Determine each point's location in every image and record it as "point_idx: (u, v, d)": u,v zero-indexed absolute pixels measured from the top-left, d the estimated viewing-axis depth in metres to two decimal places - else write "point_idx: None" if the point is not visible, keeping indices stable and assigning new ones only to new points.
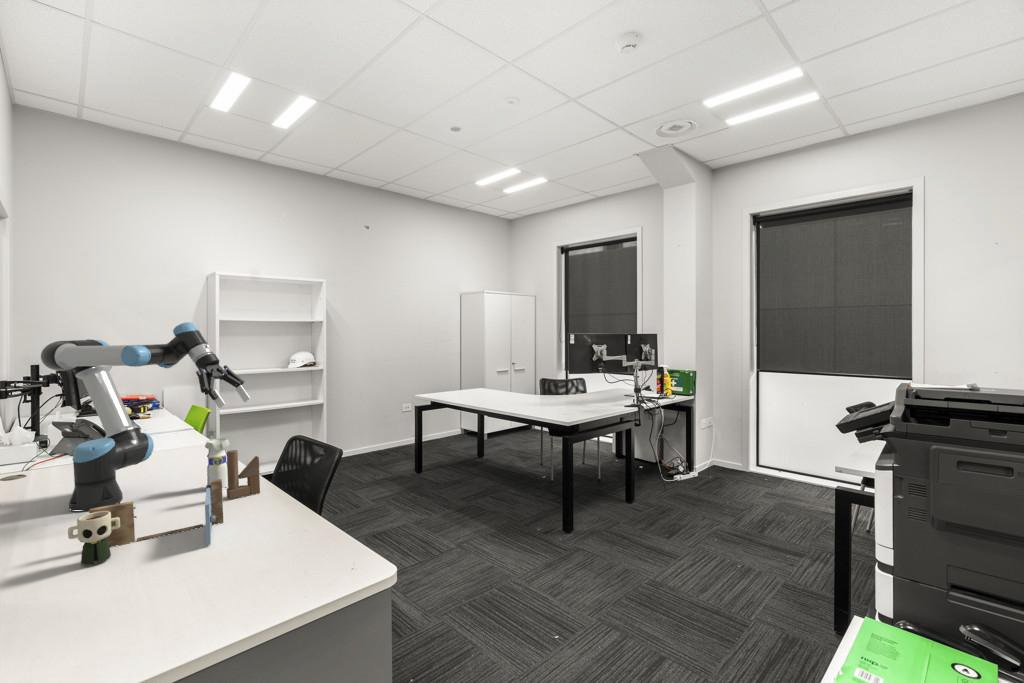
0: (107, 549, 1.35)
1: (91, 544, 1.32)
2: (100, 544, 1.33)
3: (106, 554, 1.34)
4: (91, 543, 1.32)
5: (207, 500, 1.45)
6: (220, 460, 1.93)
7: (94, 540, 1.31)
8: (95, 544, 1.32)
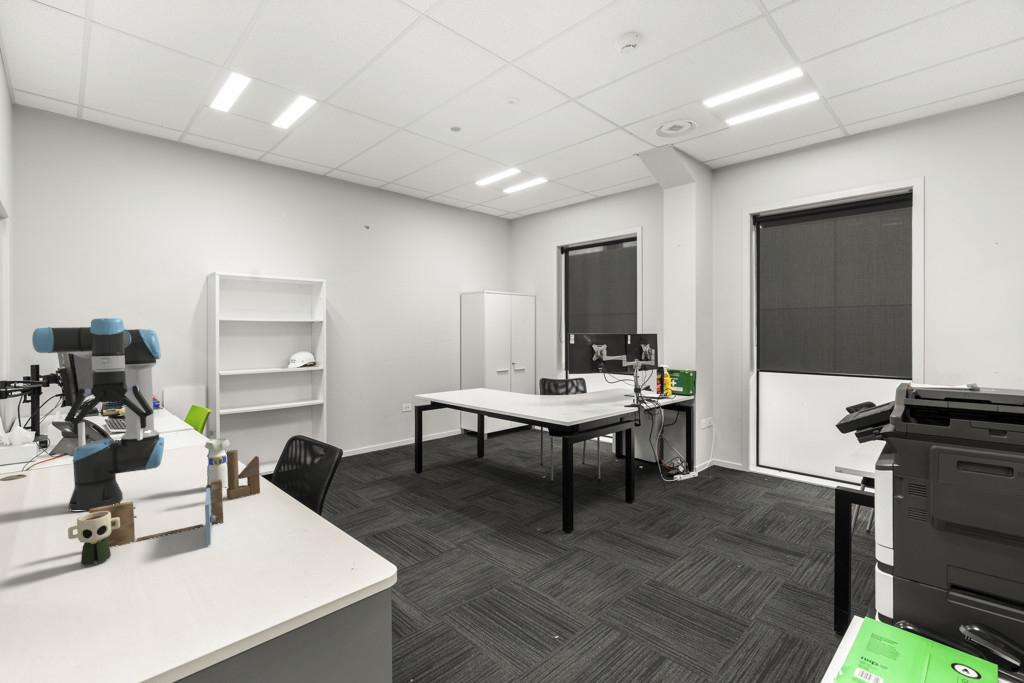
0: (107, 549, 1.34)
1: (91, 544, 1.32)
2: (100, 544, 1.33)
3: (106, 554, 1.34)
4: (91, 543, 1.32)
5: (207, 500, 1.45)
6: (220, 460, 1.93)
7: (94, 540, 1.31)
8: (95, 544, 1.32)
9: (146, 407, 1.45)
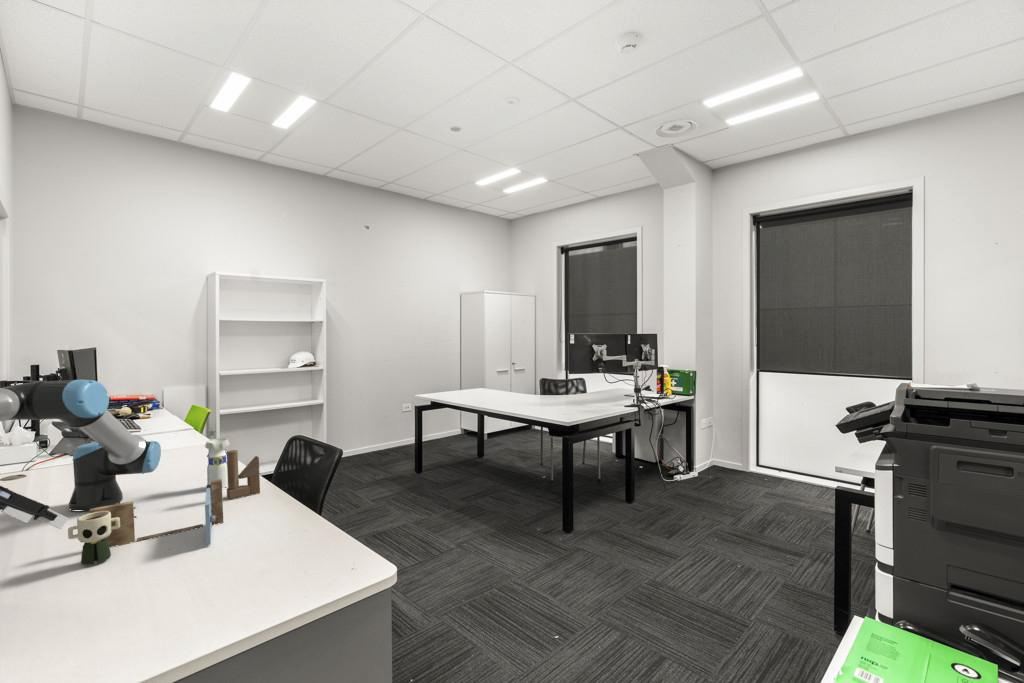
0: (107, 549, 1.34)
1: (91, 544, 1.32)
2: (100, 544, 1.33)
3: (106, 554, 1.34)
4: (91, 543, 1.32)
5: (207, 500, 1.45)
6: (220, 460, 1.93)
7: (94, 540, 1.31)
8: (95, 544, 1.32)
9: (29, 511, 1.13)
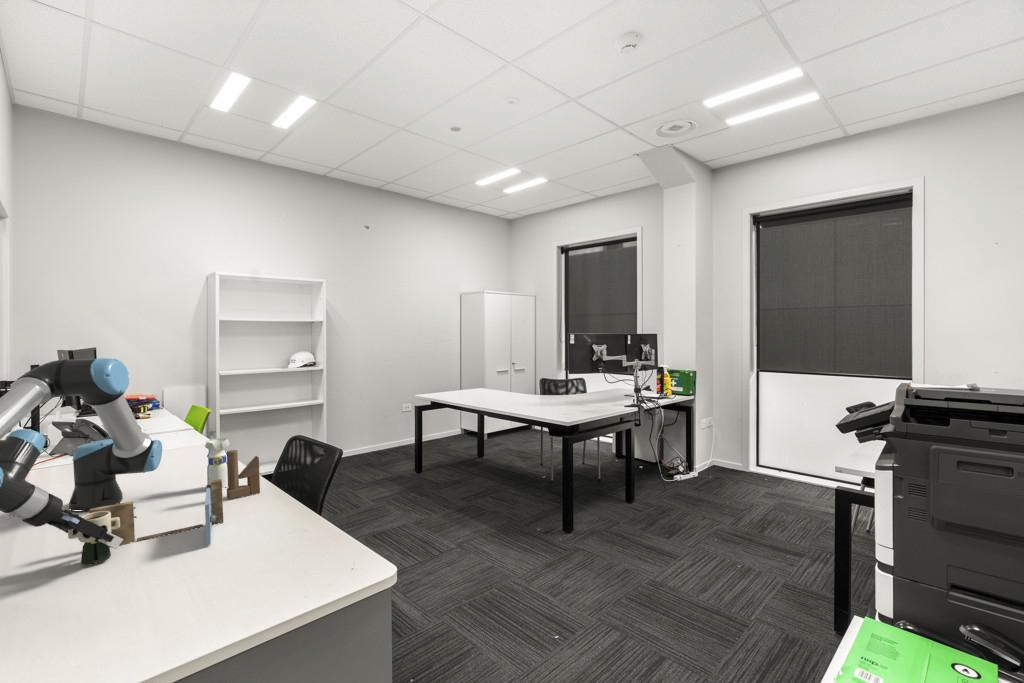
0: (107, 549, 1.35)
1: (91, 544, 1.32)
2: (100, 544, 1.33)
3: (106, 554, 1.34)
4: (91, 543, 1.32)
5: (207, 500, 1.45)
6: (220, 460, 1.93)
7: None
8: (95, 544, 1.32)
9: (93, 535, 1.28)
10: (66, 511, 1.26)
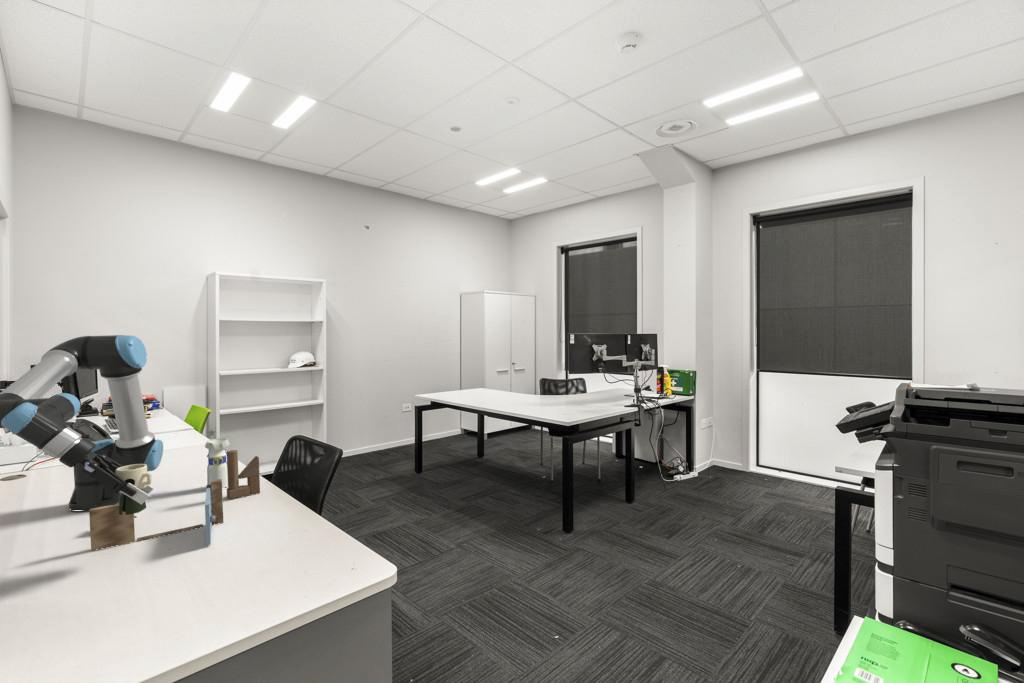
0: (137, 503, 1.35)
1: (123, 494, 1.34)
2: (129, 497, 1.34)
3: (134, 508, 1.34)
4: None
5: (207, 500, 1.45)
6: (220, 460, 1.93)
7: None
8: (126, 495, 1.34)
9: None
10: (96, 458, 1.31)
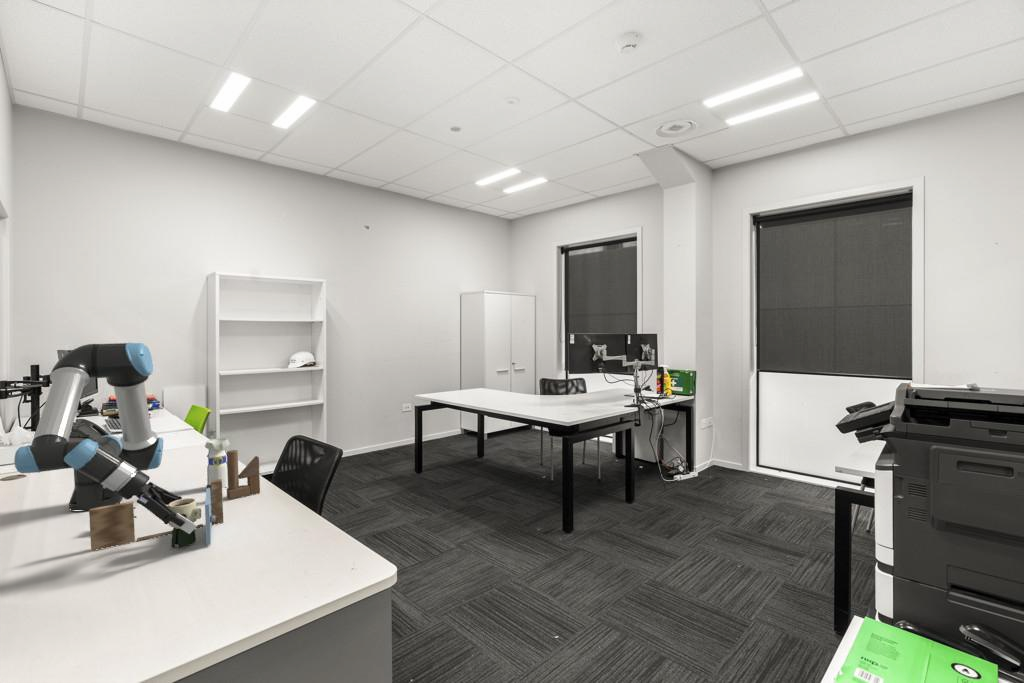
0: (188, 536, 1.42)
1: (175, 528, 1.41)
2: (181, 531, 1.41)
3: (186, 541, 1.41)
4: (175, 528, 1.41)
5: (207, 500, 1.45)
6: (220, 460, 1.93)
7: (174, 526, 1.40)
8: (178, 529, 1.41)
9: None
10: (150, 489, 1.37)
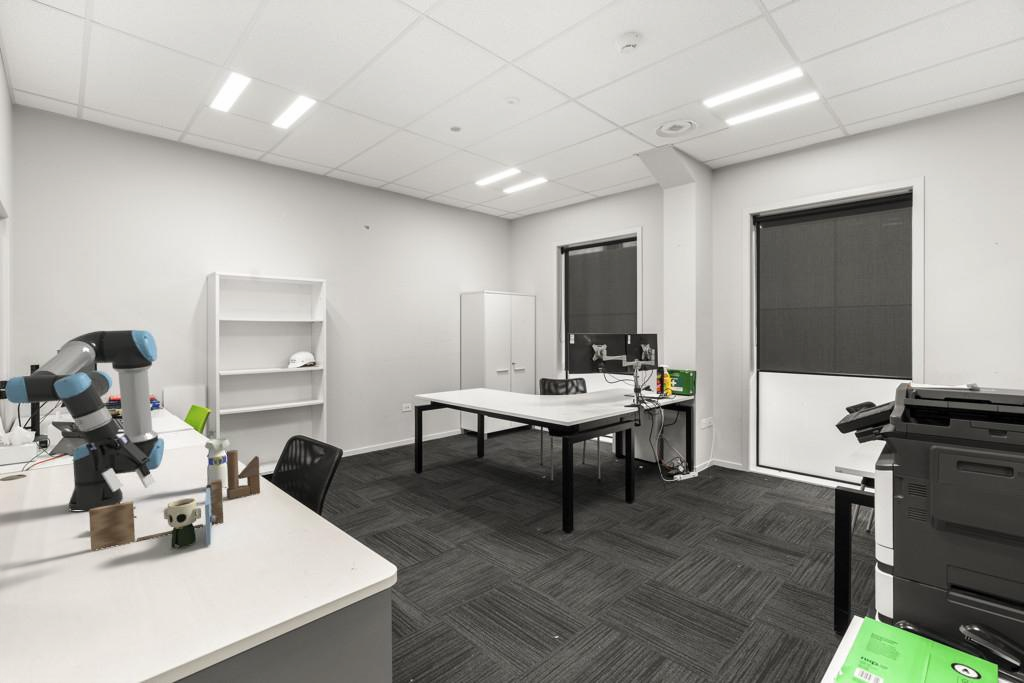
0: (188, 536, 1.42)
1: (175, 528, 1.41)
2: (181, 531, 1.41)
3: (186, 541, 1.41)
4: (175, 528, 1.41)
5: (207, 500, 1.45)
6: (220, 460, 1.93)
7: (174, 526, 1.40)
8: (178, 529, 1.41)
9: (135, 458, 1.38)
10: None
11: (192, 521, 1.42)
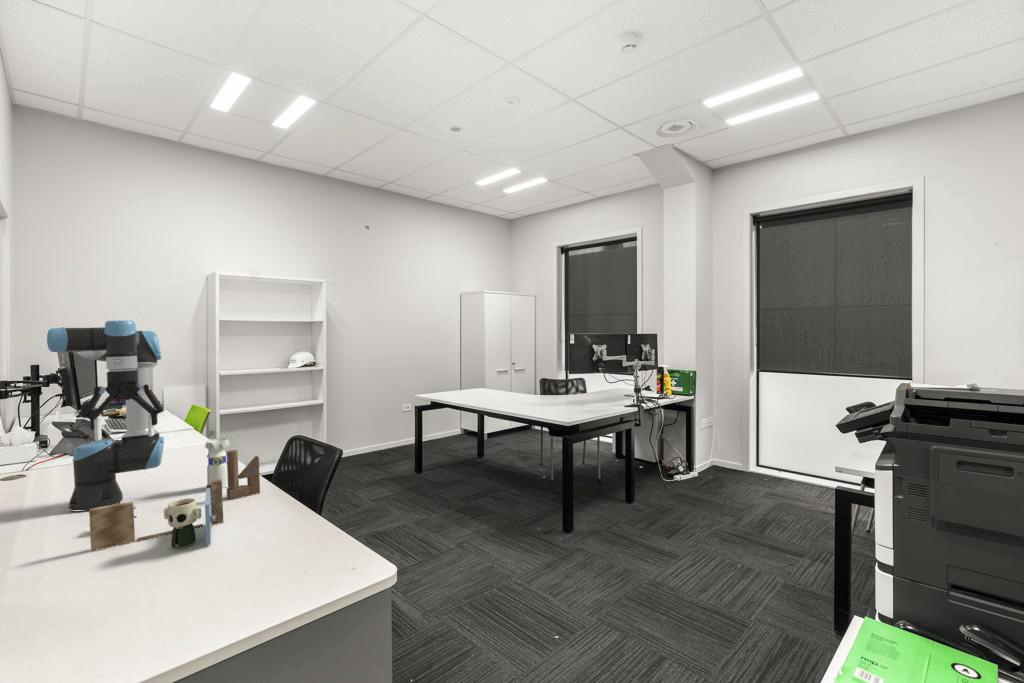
0: (188, 536, 1.42)
1: (175, 528, 1.41)
2: (181, 531, 1.41)
3: (186, 541, 1.41)
4: (175, 528, 1.41)
5: (207, 500, 1.45)
6: (220, 460, 1.93)
7: (174, 526, 1.40)
8: (178, 529, 1.41)
9: (157, 405, 1.52)
10: None
11: (192, 521, 1.42)
